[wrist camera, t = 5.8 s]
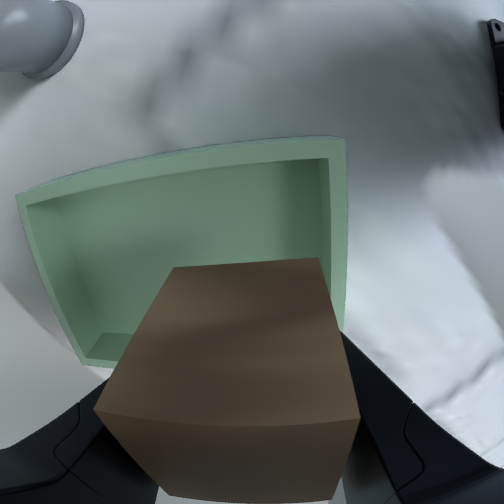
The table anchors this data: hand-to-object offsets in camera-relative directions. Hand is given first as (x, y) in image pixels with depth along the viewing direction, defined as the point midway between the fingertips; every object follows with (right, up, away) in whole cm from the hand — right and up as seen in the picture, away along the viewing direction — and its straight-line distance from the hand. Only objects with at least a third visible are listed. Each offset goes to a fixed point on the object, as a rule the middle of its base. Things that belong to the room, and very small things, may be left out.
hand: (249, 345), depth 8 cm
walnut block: (0, 0, +1) cm, 1 cm away
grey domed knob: (-11, +14, +2) cm, 17 cm away
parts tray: (-3, +2, +6) cm, 7 cm away
